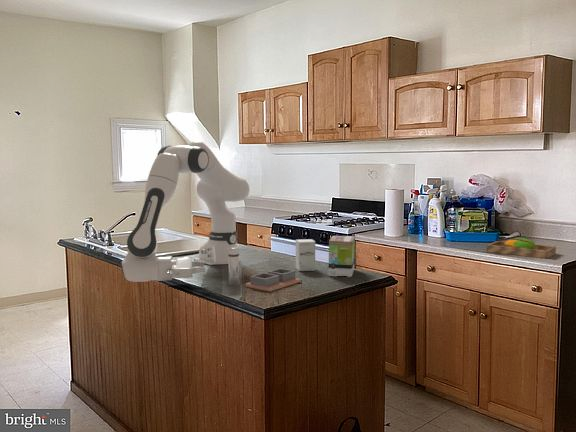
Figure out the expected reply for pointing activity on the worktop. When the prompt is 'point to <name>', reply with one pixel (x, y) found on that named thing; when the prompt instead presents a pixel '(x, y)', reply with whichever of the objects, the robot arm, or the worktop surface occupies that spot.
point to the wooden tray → (522, 250)
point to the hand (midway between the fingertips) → (204, 266)
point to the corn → (521, 244)
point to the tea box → (341, 256)
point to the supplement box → (305, 255)
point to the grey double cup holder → (273, 280)
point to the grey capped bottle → (233, 266)
